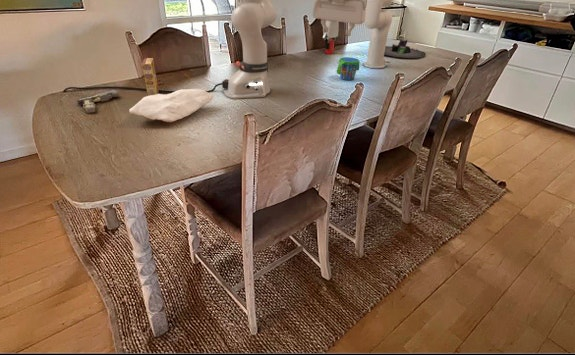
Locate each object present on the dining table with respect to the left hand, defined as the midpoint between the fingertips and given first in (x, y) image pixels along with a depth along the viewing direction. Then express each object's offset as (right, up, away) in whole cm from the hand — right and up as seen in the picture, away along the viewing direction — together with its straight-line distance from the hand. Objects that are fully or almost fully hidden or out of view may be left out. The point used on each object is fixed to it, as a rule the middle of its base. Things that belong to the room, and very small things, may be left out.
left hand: (336, 33), depth 138 cm
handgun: (-98, -23, +18) cm, 103 cm away
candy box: (-80, -17, +29) cm, 87 cm away
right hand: (+10, +32, +105) cm, 110 cm away
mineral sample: (+59, +32, +114) cm, 133 cm away
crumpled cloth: (-66, -28, +12) cm, 73 cm away
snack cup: (+14, -1, +60) cm, 62 cm away
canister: (+10, +29, +106) cm, 111 cm away
